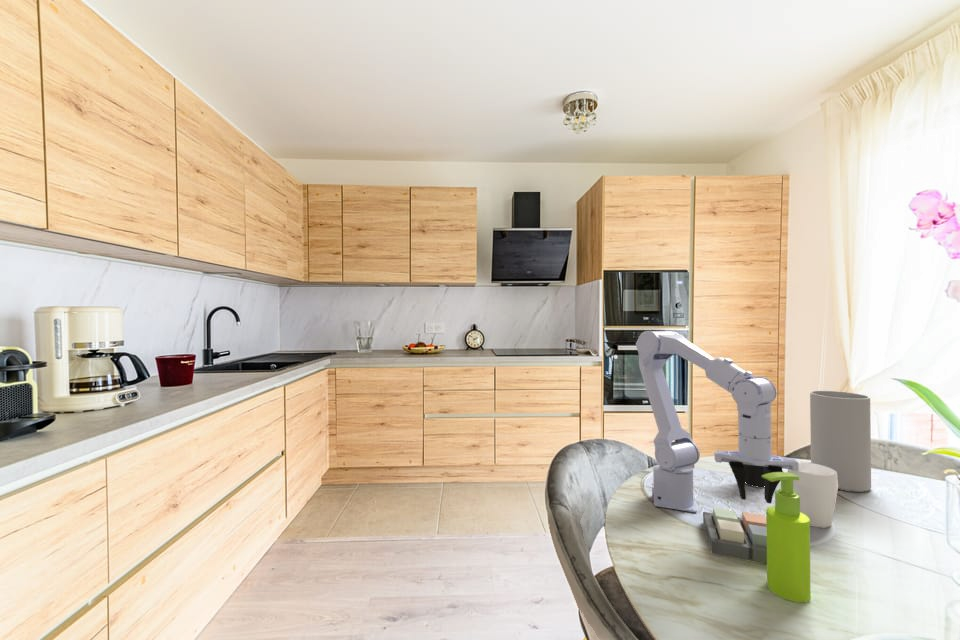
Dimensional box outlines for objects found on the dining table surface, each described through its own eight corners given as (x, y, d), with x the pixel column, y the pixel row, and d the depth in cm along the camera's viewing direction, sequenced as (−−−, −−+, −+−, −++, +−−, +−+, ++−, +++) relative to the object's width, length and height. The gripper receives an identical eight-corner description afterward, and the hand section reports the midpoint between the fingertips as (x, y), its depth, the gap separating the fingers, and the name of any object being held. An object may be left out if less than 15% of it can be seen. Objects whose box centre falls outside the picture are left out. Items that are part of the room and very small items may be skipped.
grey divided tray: (712, 553, 79) (712, 541, 79) (703, 522, 91) (703, 511, 91) (792, 568, 74) (792, 555, 74) (771, 533, 86) (771, 522, 86)
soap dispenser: (753, 580, 71) (752, 468, 71) (789, 578, 71) (788, 466, 71) (781, 604, 65) (779, 481, 65) (820, 601, 65) (818, 479, 65)
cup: (849, 532, 86) (848, 477, 86) (801, 528, 88) (800, 474, 88) (822, 512, 95) (821, 462, 95) (779, 509, 97) (779, 460, 97)
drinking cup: (778, 489, 108) (777, 416, 108) (750, 490, 108) (749, 416, 108) (759, 478, 115) (758, 409, 115) (732, 478, 116) (732, 410, 116)
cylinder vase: (800, 474, 119) (799, 390, 119) (847, 475, 117) (846, 391, 117) (831, 492, 106) (830, 398, 106) (884, 494, 104) (883, 399, 104)
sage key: (716, 527, 85) (716, 515, 85) (713, 518, 89) (713, 507, 89) (738, 531, 83) (737, 519, 83) (734, 522, 87) (734, 510, 87)
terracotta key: (746, 532, 83) (746, 520, 83) (742, 523, 86) (742, 512, 86) (769, 536, 81) (769, 524, 81) (764, 527, 85) (764, 515, 85)
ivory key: (720, 540, 80) (720, 528, 80) (717, 531, 84) (717, 519, 84) (744, 545, 78) (743, 532, 78) (739, 534, 82) (739, 522, 82)
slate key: (753, 546, 78) (753, 533, 78) (748, 536, 81) (748, 524, 81) (777, 550, 76) (777, 537, 76) (771, 540, 80) (771, 527, 80)
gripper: (718, 436, 83) (718, 501, 83) (803, 444, 77) (804, 514, 77) (712, 428, 90) (713, 488, 89) (791, 434, 84) (792, 498, 84)
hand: (755, 499), depth 84 cm, fingers open, 4 cm apart
